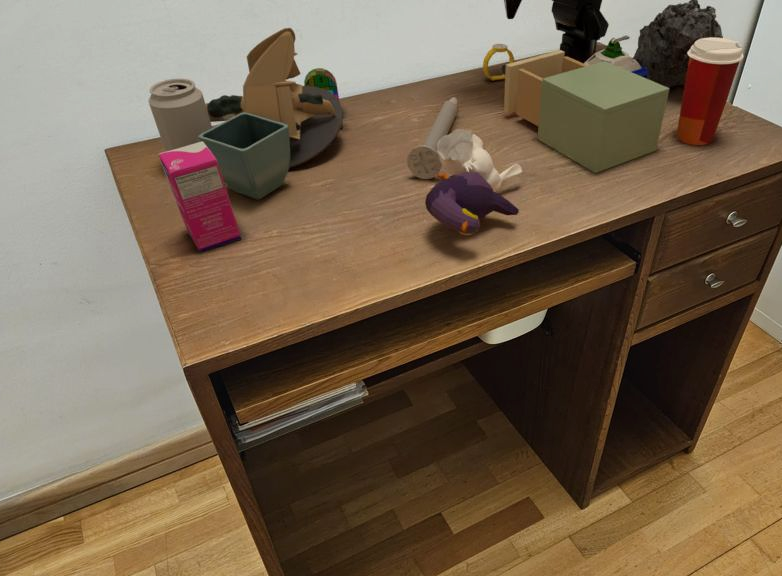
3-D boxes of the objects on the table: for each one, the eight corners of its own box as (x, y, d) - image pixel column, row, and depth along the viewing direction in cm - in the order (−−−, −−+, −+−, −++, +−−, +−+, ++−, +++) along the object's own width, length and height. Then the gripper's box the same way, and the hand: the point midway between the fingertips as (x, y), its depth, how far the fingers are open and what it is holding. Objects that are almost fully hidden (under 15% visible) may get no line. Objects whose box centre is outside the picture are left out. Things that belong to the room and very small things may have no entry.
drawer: (486, 102, 112) (487, 55, 106) (538, 87, 116) (541, 41, 111) (550, 138, 101) (555, 89, 96) (604, 120, 105) (612, 72, 100)
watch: (487, 84, 120) (488, 51, 116) (480, 79, 122) (481, 46, 117) (515, 78, 122) (517, 45, 117) (508, 73, 123) (509, 41, 119)
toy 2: (490, 239, 88) (524, 213, 83) (438, 257, 80) (472, 228, 75) (450, 172, 89) (481, 142, 84) (394, 182, 80) (425, 149, 76)
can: (230, 155, 101) (209, 78, 92) (203, 178, 96) (178, 98, 87) (190, 149, 103) (165, 73, 94) (160, 171, 97) (132, 92, 89)
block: (293, 111, 113) (285, 71, 108) (340, 106, 114) (334, 66, 109) (293, 139, 104) (284, 97, 99) (343, 134, 105) (337, 91, 100)
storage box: (537, 139, 103) (542, 78, 96) (596, 119, 108) (604, 60, 101) (595, 173, 95) (604, 109, 88) (656, 150, 99) (669, 88, 93)
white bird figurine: (468, 171, 81) (505, 218, 88) (507, 127, 82) (541, 177, 88) (421, 151, 90) (458, 195, 97) (456, 110, 90) (490, 157, 97)
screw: (445, 118, 114) (471, 111, 112) (414, 182, 95) (445, 174, 93) (435, 90, 111) (462, 82, 109) (402, 150, 92) (434, 142, 90)
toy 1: (227, 101, 107) (178, 15, 94) (343, 77, 105) (309, -14, 92) (216, 182, 97) (160, 99, 84) (343, 157, 95) (306, 68, 82)
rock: (714, 107, 111) (742, 14, 100) (633, 104, 112) (653, 10, 101) (695, 71, 123) (719, -17, 112) (623, 68, 123) (639, -19, 113)
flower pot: (259, 211, 89) (243, 150, 82) (214, 195, 92) (195, 135, 86) (301, 183, 94) (289, 124, 88) (257, 169, 97) (243, 111, 91)
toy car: (650, 96, 114) (661, 39, 107) (598, 111, 110) (606, 53, 103) (614, 79, 120) (623, 25, 113) (563, 93, 115) (569, 37, 109)
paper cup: (714, 127, 105) (739, 36, 95) (724, 149, 99) (751, 54, 90) (665, 126, 105) (685, 35, 96) (672, 147, 100) (694, 53, 90)
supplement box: (185, 233, 85) (156, 152, 77) (229, 219, 87) (205, 139, 79) (197, 254, 81) (168, 171, 73) (243, 239, 84) (219, 157, 76)
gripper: (455, -99, 105) (456, 5, 116) (471, -77, 92) (471, 39, 103) (522, -102, 106) (517, 1, 117) (547, -80, 93) (539, 35, 103)
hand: (510, 18), depth 110 cm, fingers closed
